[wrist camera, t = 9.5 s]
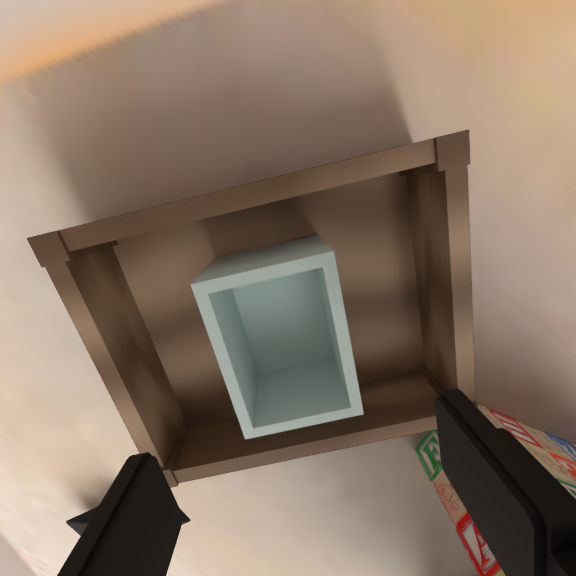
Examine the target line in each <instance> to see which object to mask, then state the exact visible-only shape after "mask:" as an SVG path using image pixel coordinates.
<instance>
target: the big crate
mask: <svg viewBox="0 0 576 576" xmlns="http://www.w3.org/2000/svg"><path fill="white" fill-rule="evenodd" d="M468 164H470V144H469V130H465V131H461V132H457V133H452V134H448V135H444V136H440V137H436V138H433V139H429V140H425V141H421V142H417V143H413V144H409V145H404V146H400V147H396V148H392V149H388V150H384V151H380V152H376V153H372V154H368V155H364V156H360V157H356V158H352V159H348V160H343V161H339V162H335V163H331V164H327V165H323V166H319V167H315V168H311V169H307V170H303V171H299V172H295V173H291V174H286V175H282V176H278V177H274V178H270V179H266V180H262V181H258V182H254V183H250V184H246V185H242V186H238V187H234V188H230V189H225V190H221V191H217V192H213V193H209V194H205V195H201V196H197V197H193V198H189V199H185V200H181V201H177V202H173V203H168V204H164V205H160V206H156V207H152V208H148V209H144V210H140V211H136V212H132V213H128V214H124V215H120V216H116V217H112V218H107V219H103V220H99V221H95V222H91V223H87V224H83V225H79V226H75V227H71V228H67V229H63V230H58V231H54V232H50V233H46V234H42V235H37V236H33V237H29V238H27V240H28V242H29V244H30V246H31V248H32V250H33V251H34V253H35V255H36V257H37V259H38V261H39V263H40V265H41V267H45V268H46V270H47V272H48V274H49V276H50V278H51V279H52V281H53V283H54V285H55V287H56V289H57V291H58V293H59V295H60V297H61V299H62V301H63V303H64V305H65V307H66V309H67V311H68V313H69V315H70V317H71V319H72V321H73V323H74V325H75V327H76V329H77V331H78V333H79V335H80V337H81V339H82V341H83V343H84V345H85V346H86V348H87V350H88V352H89V354H90V356H91V358H92V360H93V362H94V364H95V366H96V368H97V370H98V372H99V374H100V376H101V378H102V380H103V382H104V384H105V386H106V388H107V390H108V392H109V394H110V396H111V398H112V400H113V402H114V404H115V406H116V408H117V410H118V411H119V413H120V415H121V417H122V419H123V421H124V423H125V425H126V427H127V429H128V431H129V433H130V435H131V437H132V439H133V441H134V443H135V445H136V447H137V449H138V451H139V453H140V454H141V453H146V452H149V453H151V455H152V456H155V457H156V458H157V460H158V462H159V464H160V467H161V469H162V471H163V473H164V475H165V478H166V480H167V482H168V484H169V487H170V488H171V487H176V486H178V484H179V483H182V482H186V481H191V480H196V479H201V478H205V477H210V476H215V475H220V474H225V473H229V472H234V471H239V470H244V469H248V468H253V467H258V466H263V465H268V464H272V463H277V462H282V461H287V460H291V459H296V458H301V457H306V456H310V455H315V454H320V453H325V452H330V451H334V450H339V449H344V448H349V447H353V446H358V445H363V444H368V443H372V442H377V441H382V440H387V439H392V438H396V437H401V436H406V435H411V434H415V433H420V432H425V431H430V430H435V429H437V421H436V412H435V403H434V399H435V398H437V397H439V392H442V391H447V390H452V389H457V388H458V389H460V390H461V391H462V392H463V393H464V394H465V395H466V396H467V397H468V398H469V399H470V400H471V402H472V403H473V404H474V405H475V406H476V407H477V408H478V404H477V403H476V394H475V366H474V337H473V309H472V281H471V253H470V224H469V196H468V168H467V165H468ZM314 234H318V235H319V236H320V237H321V238H322V239H323V240H324V241H325V242H326V243H327V244H328V245H329V246H330V247H331V248H332V250H333V251H334V254H335V260H336V265H337V271H338V276H339V282H340V287H341V292H342V298H343V303H344V309H345V314H346V320H347V325H348V331H349V336H350V341H351V347H352V352H353V358H354V363H355V369H356V374H357V380H358V385H359V390H360V396H361V401H362V407H363V412H364V414H363V415H358V416H353V417H349V418H344V419H339V420H335V421H330V422H325V423H321V424H316V425H311V426H306V427H302V428H297V429H292V430H288V431H283V432H278V433H274V434H269V435H264V436H259V437H255V438H250V439H245V438H244V435H243V432H242V429H241V426H240V423H239V421H238V418H237V415H236V412H235V409H234V406H233V404H232V401H231V398H230V395H229V392H228V389H227V387H226V384H225V381H224V378H223V375H222V372H221V370H220V367H219V364H218V361H217V358H216V355H215V353H214V350H213V347H212V344H211V341H210V338H209V336H208V333H207V330H206V327H205V324H204V321H203V319H202V316H201V313H200V310H199V307H198V304H197V302H196V299H195V296H194V293H193V290H192V287H191V284H192V282H193V281H194V280H195V279H196V278H197V277H198V276H199V275H200V274H201V273H202V271H203V270H204V269H205V268H206V267H207V266H208V265H209V264H210V263H211V262H212V261H213V259H214V258H217V257H221V256H225V255H229V254H234V253H238V252H242V251H246V250H250V249H255V248H259V247H263V246H267V245H272V244H276V243H280V242H284V241H288V240H293V239H297V238H301V237H305V236H310V235H314Z"/></svg>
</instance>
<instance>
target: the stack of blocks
mask: <svg viewBox="0 0 576 576" xmlns="http://www.w3.org/2000/svg"><path fill="white" fill-rule="evenodd" d="M478 409H479V410H480V411H481V412H482V413H483V414H484V415H485V416H486V417H487V418H488V420H489V421H490V422H491V423H492V424H493V425H494V426H495V427H496V428H504V429H506V430H508V431H509V432H510V433H511V434H512V435H513V436H514V437H515V438H516V439H517V440H518V441H519V442H520V443H521V444H522V445H523V446H524V447H525V448H526V449H527V450H528V451H529V452H530V453H531V454H532V455H533V456H534V457H535V458H536V459H537V460H538V461H539V462H540V463H541V464H542V465H543V466H544V467H545V468H546V469H547V470H548V471H549V472H550V473H551V474H552V475H553V476H554V477H555V478H556V479H557V480H558V481H559V482H560V483H561V484H562V485H563V486H564V488H565V489H566V490H567V491H568V492H569V493H570V494H571V495H572V496H573V497H574V498H575V499H576V444H573V443H571V444H570V443H569V442H566V441H564V440H561V439H559V438H557V437H554V436H552V435H549V434H547V433H543V432H541V431H539V430H537V429H534V428H532V427H529V426H527V425H524V424H522V423H519V422H517V421H515V420H514V419H512V418H509V417H507V416H505V415H502V414H500V413H497V412H495V411H493V410H490V409H488V408H485V407H484V406H481V405H479V404H478ZM415 451H416V453H417V455H418V457H419V459H420V461H421V463H422V465H423V467H424V469H425V471H426V473H427V475H428V477H429V479H430V481H431V482H432V483H433V484H434V487H435V489H436V491H437V493H438V495H439V497H440V499H441V501H442V503H443V504H444V507H445V509H446V511H447V512H448V514H449V516H450V518H451V520H452V522H453V523H454V525H455V529H456V532H457V534H458V536H459V538H460V540H461V542H462V544H463V546H464V547H465V549H466V551H467V553H468V555H469V557H470V559H471V562H472V563H473V564H474V566H475V569H476V571H477V573H478V575H479V576H505V574H504V572H503V571H502V569H501V567H500V566H499V564H498V562H497V561H496V559H495V557H494V555H493V554H492V552H491V550H490V549H489V547H488V545H487V544H486V542H485V540H484V539H483V537H482V535H481V534H480V532H479V530H478V529H477V527H476V525H475V524H474V522H473V520H472V519H471V517H470V515H469V514H468V512H467V510H466V508H465V507H464V505H463V503H462V502H461V500H460V498H459V497H458V495H457V493H456V492H455V490H454V488H453V487H452V485H451V483H450V482H449V480H448V478H447V477H446V475H445V473H444V470H443V468H442V465H441V458H440V449H439V440H438V431H437V429H435V430H430V432H429V433H428V434H427V436H426V437H425V438H424V439H423V441H422V442H421V443H420V445H419V446H418V447H417V449H416V450H415Z"/></svg>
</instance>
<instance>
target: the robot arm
mask: <svg viewBox="0 0 576 576" xmlns="http://www.w3.org/2000/svg"><path fill="white" fill-rule="evenodd" d="M434 403H435V412H436V421H437V431H438V440H439V449H440V458H441V465H442V468H443V470H444V473H445V475H446V477H447V478H448V480H449V482H450V483H451V485H452V487H453V488H454V490H455V492H456V493H457V495H458V497H459V498H460V500H461V502H462V503H463V505H464V507H465V508H466V510H467V512H468V514H469V515H470V517H471V519H472V520H473V522H474V524H475V525H476V527H477V529H478V530H479V532H480V534H481V535H482V537H483V539H484V540H485V542H486V544H487V545H488V547H489V549H490V550H491V552H492V554H493V555H494V557H495V559H496V561H497V562H498V564H499V566H500V567H501V569H502V571H503V572H504V574H505V576H576V499H575V498H574V497H573V496H572V495H571V494H570V493H569V492H568V491H567V490H566V489H565V488H564V486H563V485H562V484H561V483H560V482H559V481H558V480H557V479H556V478H555V477H554V476H553V475H552V474H551V473H550V472H549V471H548V470H547V469H546V468H545V467H544V466H543V465H542V464H541V463H540V462H539V461H538V460H537V459H536V458H535V457H534V456H533V455H532V454H531V453H530V452H529V451H528V450H527V449H526V448H525V447H524V446H523V445H522V444H521V443H520V442H519V441H518V440H517V439H516V438H515V437H514V436H513V435H512V434H511V433H510V432H509V431H508V430H506V429H504V428H496V427H495V426H494V425H493V424H492V423H491V422H490V421H489V420H488V418H487V417H486V416H485V415H484V414H483V413H482V412H481V411H480V410H479V409H478V408H477V407H476V406H475V405H474V404H473V403H472V402H471V400H470V399H469V398H468V397H467V396H466V395H465V394H464V393H463V392H462V391H461V390H460V389H458V388H457V389H452V390H447V391H442V392H439V397H437V398H435V399H434ZM181 525H182V514H181V511H180V509H179V507H178V504H177V502H176V500H175V498H174V495H173V493H172V491H171V489H170V487H169V484H168V482H167V480H166V478H165V475H164V473H163V471H162V469H161V467H160V464H159V462H158V460H157V458H156V457H155V456H152V455H151V453H149V452H146V453H141V454H136V455H131V456H130V457H129V458H128V459H127V460H126V462H125V464H124V465H123V467H122V469H121V470H120V472H119V474H118V475H117V477H116V479H115V480H114V482H113V484H112V485H111V487H110V489H109V490H108V492H107V494H106V495H105V497H104V499H103V500H102V502H101V504H100V505H99V507H98V509H97V510H96V512H95V514H94V515H93V517H92V519H91V520H90V522H89V524H88V525H87V527H86V528H85V530H84V532H83V533H82V535H81V537H80V538H79V540H78V542H77V543H76V545H75V547H74V548H73V550H72V552H71V553H70V555H69V557H68V558H67V560H66V562H65V563H64V565H63V567H62V568H61V570H60V572H59V573H58V575H57V576H166V574H167V571H168V567H169V564H170V561H171V558H172V554H173V551H174V548H175V545H176V542H177V538H178V535H179V532H180V529H181Z"/></svg>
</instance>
